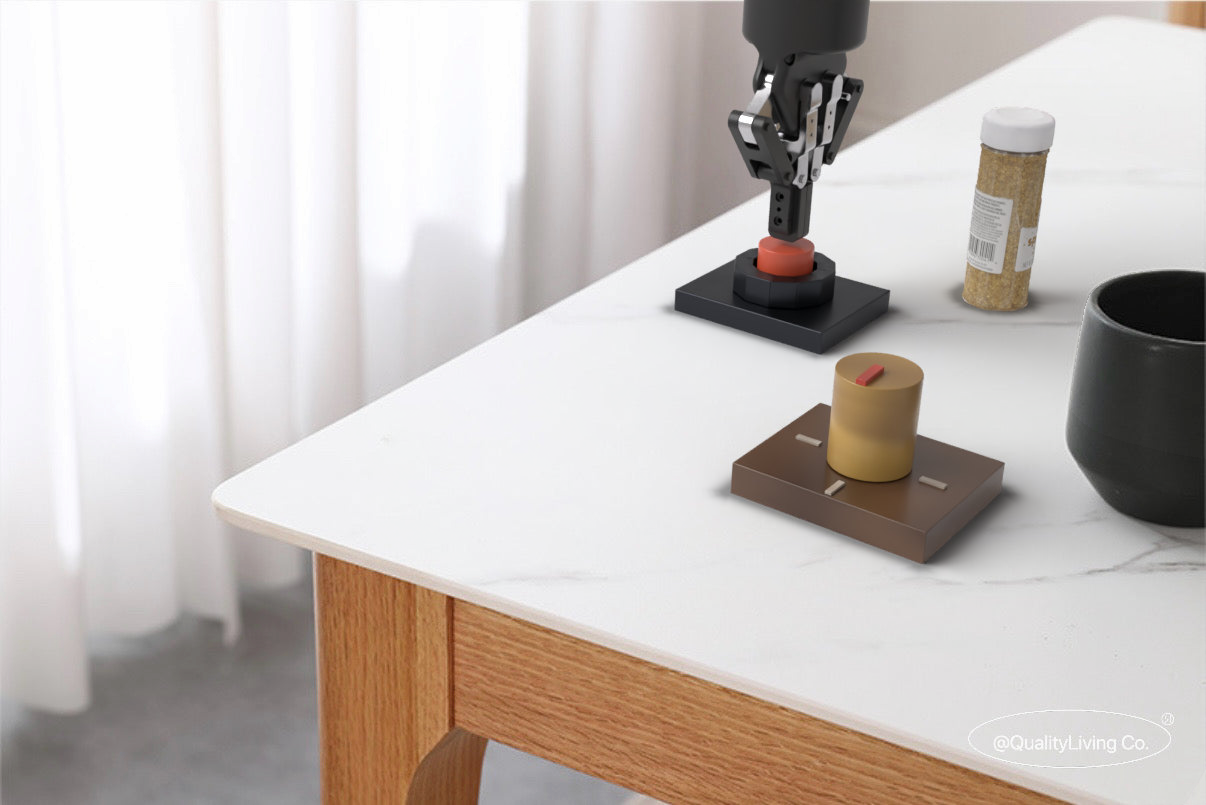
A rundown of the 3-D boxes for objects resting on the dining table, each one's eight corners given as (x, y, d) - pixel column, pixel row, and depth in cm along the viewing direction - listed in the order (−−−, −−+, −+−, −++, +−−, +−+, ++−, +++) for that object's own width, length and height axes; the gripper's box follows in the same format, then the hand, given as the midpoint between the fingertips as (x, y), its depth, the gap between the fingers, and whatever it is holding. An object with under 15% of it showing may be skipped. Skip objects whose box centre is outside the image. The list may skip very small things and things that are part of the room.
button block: (887, 320, 104) (893, 264, 102) (819, 365, 97) (824, 305, 95) (746, 280, 109) (750, 226, 108) (673, 320, 103) (675, 263, 101)
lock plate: (999, 504, 82) (1006, 459, 81) (921, 577, 76) (927, 529, 74) (816, 441, 88) (820, 399, 87) (729, 504, 81) (732, 459, 80)
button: (822, 268, 102) (825, 242, 101) (794, 284, 99) (796, 258, 99) (775, 255, 104) (777, 230, 103) (746, 270, 101) (748, 245, 101)
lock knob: (850, 433, 83) (859, 339, 81) (926, 457, 81) (939, 361, 79) (811, 465, 80) (820, 368, 78) (890, 491, 78) (901, 391, 75)
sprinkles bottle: (1039, 318, 104) (1069, 121, 98) (976, 323, 103) (1003, 125, 97) (1007, 293, 108) (1035, 102, 102) (946, 297, 107) (971, 105, 101)
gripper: (811, -61, 100) (790, 198, 108) (694, -30, 90) (681, 252, 98) (917, -45, 96) (888, 223, 104) (807, -11, 86) (784, 281, 94)
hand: (787, 236), depth 101 cm, fingers closed
